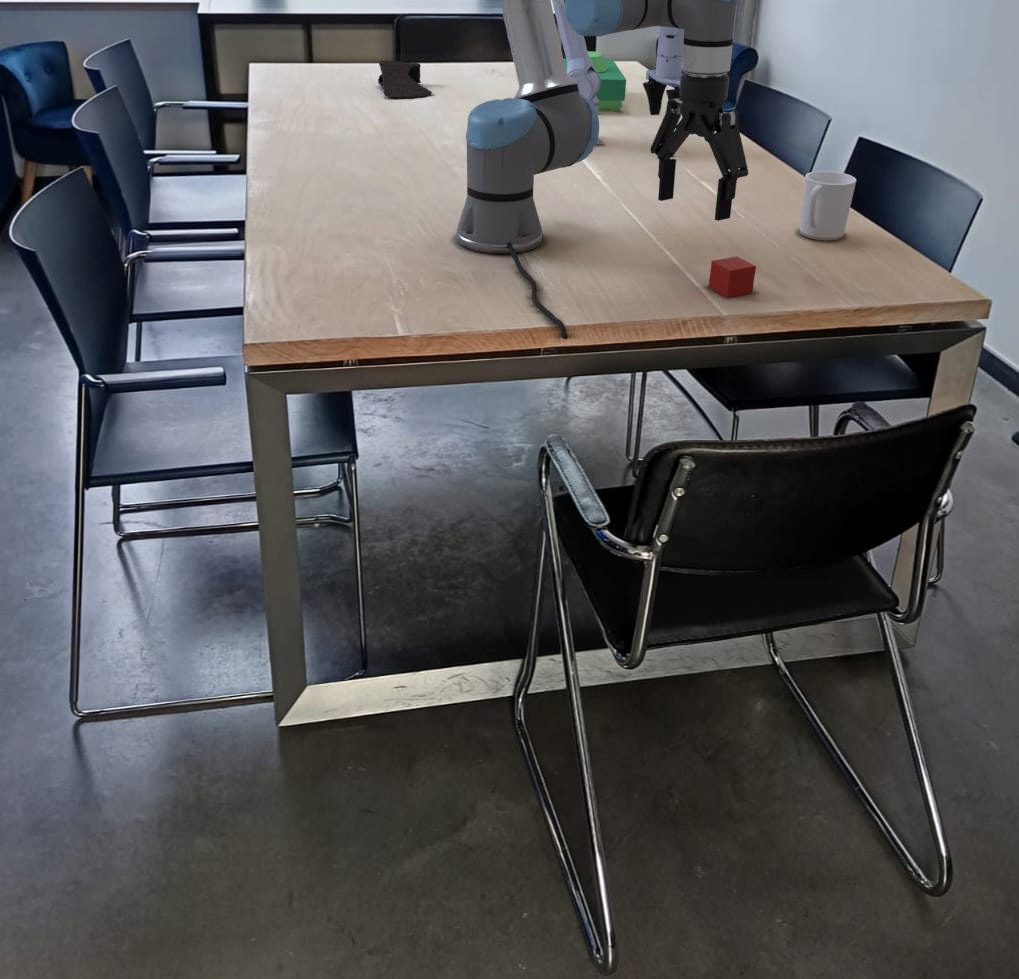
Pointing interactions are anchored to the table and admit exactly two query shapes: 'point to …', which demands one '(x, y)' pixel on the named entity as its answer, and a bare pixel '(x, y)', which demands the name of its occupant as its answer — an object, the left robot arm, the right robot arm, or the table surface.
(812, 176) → the mug
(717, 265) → the block
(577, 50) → the right robot arm
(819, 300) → the table surface
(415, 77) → the axe head
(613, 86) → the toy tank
